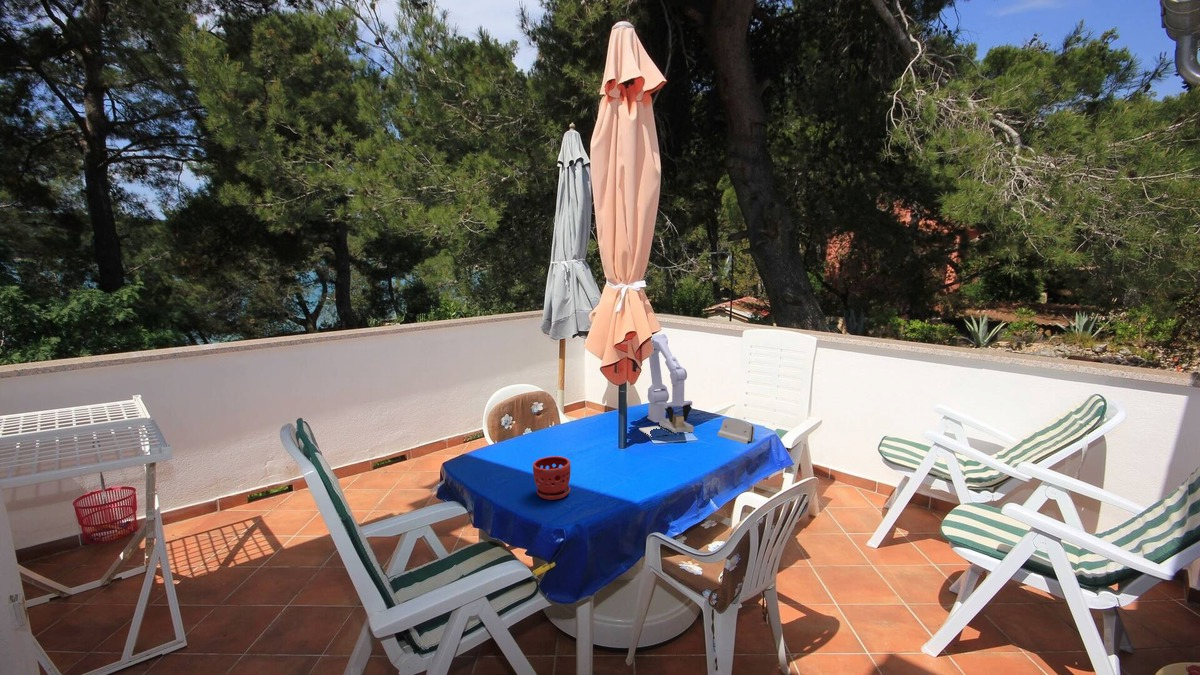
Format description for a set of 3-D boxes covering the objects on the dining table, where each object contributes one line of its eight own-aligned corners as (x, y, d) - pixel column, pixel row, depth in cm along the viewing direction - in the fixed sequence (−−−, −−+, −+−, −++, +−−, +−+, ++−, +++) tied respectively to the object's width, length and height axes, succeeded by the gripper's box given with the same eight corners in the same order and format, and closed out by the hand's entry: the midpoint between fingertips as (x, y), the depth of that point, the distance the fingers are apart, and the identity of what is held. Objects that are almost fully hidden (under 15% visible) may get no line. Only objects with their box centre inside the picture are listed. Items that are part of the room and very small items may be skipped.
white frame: (659, 425, 274) (659, 419, 273) (677, 423, 277) (677, 417, 277) (674, 434, 259) (674, 428, 258) (693, 432, 262) (693, 426, 262)
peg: (672, 429, 267) (672, 415, 266) (679, 428, 269) (679, 414, 268) (676, 431, 264) (676, 417, 263) (683, 430, 265) (683, 416, 264)
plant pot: (555, 484, 203) (554, 452, 201) (578, 494, 193) (578, 461, 191) (526, 494, 194) (525, 461, 192) (549, 506, 184) (548, 471, 183)
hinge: (716, 435, 257) (721, 414, 258) (722, 436, 260) (727, 416, 261) (747, 444, 245) (752, 422, 246) (752, 445, 248) (757, 423, 249)
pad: (638, 429, 268) (638, 428, 267) (657, 427, 271) (657, 425, 271) (651, 437, 255) (651, 436, 255) (670, 435, 258) (670, 434, 258)
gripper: (668, 396, 257) (668, 425, 259) (695, 394, 263) (695, 421, 264) (661, 393, 264) (661, 421, 266) (688, 390, 269) (688, 417, 271)
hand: (678, 421), depth 266 cm, fingers open, 7 cm apart
